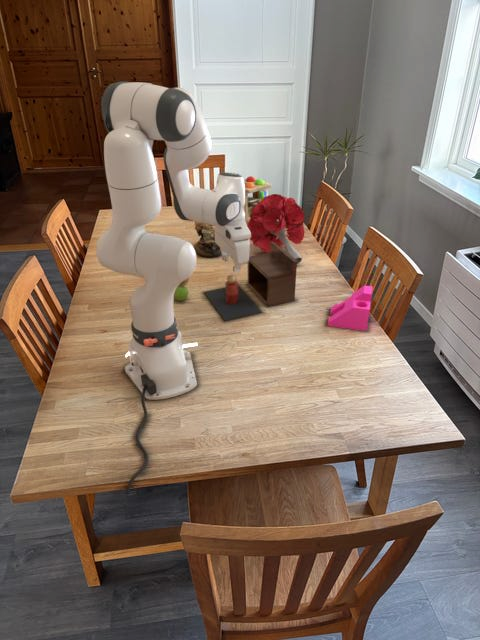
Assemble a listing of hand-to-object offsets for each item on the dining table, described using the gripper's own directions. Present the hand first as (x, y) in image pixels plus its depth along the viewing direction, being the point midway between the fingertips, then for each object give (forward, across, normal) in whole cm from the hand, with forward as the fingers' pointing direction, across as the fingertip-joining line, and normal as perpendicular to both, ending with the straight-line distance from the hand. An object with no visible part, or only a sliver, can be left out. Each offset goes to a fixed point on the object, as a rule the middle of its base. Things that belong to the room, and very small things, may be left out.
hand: (230, 266), depth 160 cm
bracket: (+14, +24, +31) cm, 42 cm away
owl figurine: (+13, -44, +9) cm, 46 cm away
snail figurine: (+11, -9, -15) cm, 21 cm away
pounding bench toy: (+12, -68, +41) cm, 80 cm away
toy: (+14, -1, +1) cm, 14 cm away
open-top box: (+14, -2, +16) cm, 21 cm away
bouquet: (+13, -29, +32) cm, 46 cm away
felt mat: (+14, 0, +1) cm, 14 cm away
